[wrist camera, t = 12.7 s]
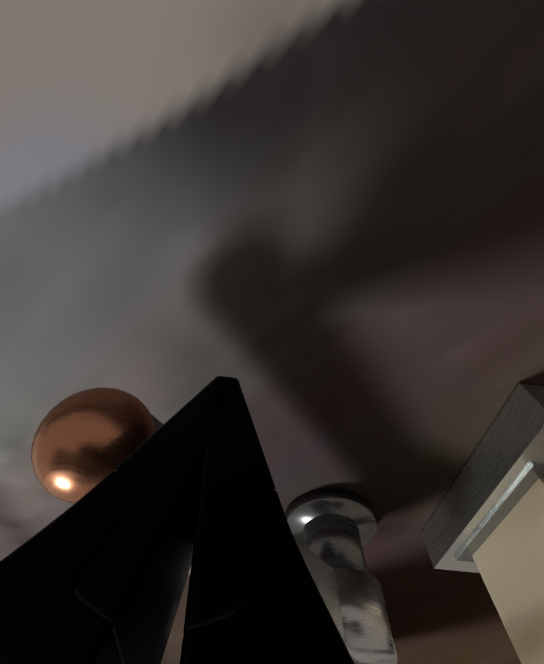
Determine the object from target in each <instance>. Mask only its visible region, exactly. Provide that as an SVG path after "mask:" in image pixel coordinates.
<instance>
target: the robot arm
mask: <svg viewBox="0 0 544 664" xmlns="http://www.w3.org/2000/svg"><path fill="white" fill-rule="evenodd" d="M190 567H191V571H190V580H189V589H188V598H187V606H186V615H185V624H184V638H183V642H182V650H181V659H180V664H355V663H354V661H353V659H352V657H351V655H350V653H349V651H348V649H347V647H346V645H345V643H344V641H343V639H342V637H341V635H340V633H339V631H338V629H337V627H336V625H335V623H334V621H333V618H332V616H331V614H330V612H329V610H328V608H327V606H326V604H325V602H324V600H323V598H322V596H321V594H320V592H319V590H318V588H317V586H316V584H315V582H314V580H313V578H312V576H311V573H310V571H309V569H308V567H307V565H306V563H305V561H304V559H303V556H302V554H301V552H300V550H299V548H298V545H297V543H296V541H295V539H294V537H293V534H292V531H291V529H290V526H289V524H288V521H287V518H286V516H285V513H284V511H283V508H282V505H281V502H280V499H279V496H278V493H277V492H276V491H275V485H274V482H273V480H272V477H271V474H270V471H269V468H268V465H267V462H266V459H265V456H264V453H263V451H262V448H261V445H260V442H259V439H258V436H257V433H256V430H255V427H254V424H253V422H252V419H251V416H250V413H249V410H248V407H247V404H246V401H245V398H244V396H243V393H242V390H241V387H240V384H239V381H238V379H236V378H231V377H223V376H218V377H216V378H215V379H214V380H213V381H212V382H210V383H209V384H208V385H207V386H206V387H205V388H204V389H203V390H202V391H200V392H199V393H198V394H197V395H196V396H195V397H194V398H193V399H192V400H190V401H189V402H188V403H187V404H186V405H185V406H184V407H183V408H182V409H180V410H179V411H178V412H177V413H176V414H175V415H174V416H173V417H172V418H170V419H169V420H168V421H167V422H166V423H165V424H164V425H163V426H162V427H160V428H159V429H158V430H157V431H156V432H155V433H154V434H153V435H152V436H150V437H149V438H148V439H147V440H146V441H145V442H144V443H143V444H142V445H141V446H139V447H138V448H137V449H136V450H135V451H134V452H133V453H132V454H131V455H129V456H128V457H127V458H126V459H125V460H124V461H123V462H122V463H121V464H119V465H118V466H117V467H116V468H115V471H111V472H110V473H109V474H108V475H107V476H106V477H105V478H104V479H103V480H101V481H100V482H99V483H98V484H97V485H96V486H95V487H94V488H92V489H91V490H90V491H89V492H88V493H87V494H85V495H84V496H83V497H82V498H81V499H80V500H78V501H77V502H76V503H75V504H74V505H73V506H71V507H70V508H69V509H68V510H66V511H65V512H64V513H63V514H61V515H60V516H59V517H58V518H56V519H55V520H54V521H52V522H51V523H50V524H49V525H47V526H46V527H45V528H44V529H42V530H41V531H40V532H38V533H37V534H36V535H35V536H33V537H32V538H31V539H29V540H28V541H27V542H25V543H24V544H23V545H21V546H20V547H19V548H17V549H16V550H15V551H13V552H12V553H11V554H9V555H8V556H7V557H5V558H4V559H3V560H2V561H0V664H161V660H162V657H163V654H164V651H165V647H166V644H167V641H168V638H169V635H170V631H171V628H172V625H173V622H174V618H175V615H176V612H177V609H178V606H179V602H180V599H181V596H182V593H183V589H184V586H185V583H186V580H187V577H188V573H189V570H190Z"/></svg>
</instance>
